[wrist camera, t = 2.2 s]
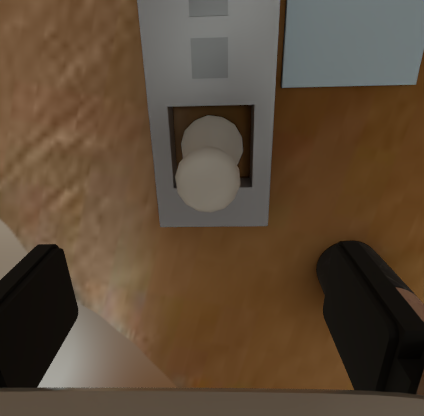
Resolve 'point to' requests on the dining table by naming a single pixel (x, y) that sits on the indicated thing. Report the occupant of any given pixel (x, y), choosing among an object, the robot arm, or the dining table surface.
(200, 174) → the salt shaker
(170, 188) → the power strip
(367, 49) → the rubber mat
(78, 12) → the dining table surface
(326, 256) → the travel mug
